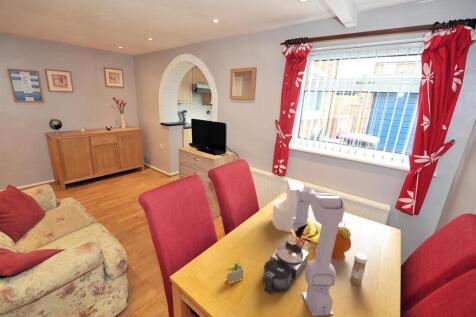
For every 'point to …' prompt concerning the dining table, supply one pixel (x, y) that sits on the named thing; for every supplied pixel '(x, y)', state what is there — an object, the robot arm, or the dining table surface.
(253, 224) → the dining table surface
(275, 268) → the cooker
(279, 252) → the lid
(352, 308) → the dining table surface
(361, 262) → the sprinkles bottle
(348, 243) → the orange lumpy piece
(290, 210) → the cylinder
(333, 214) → the robot arm
